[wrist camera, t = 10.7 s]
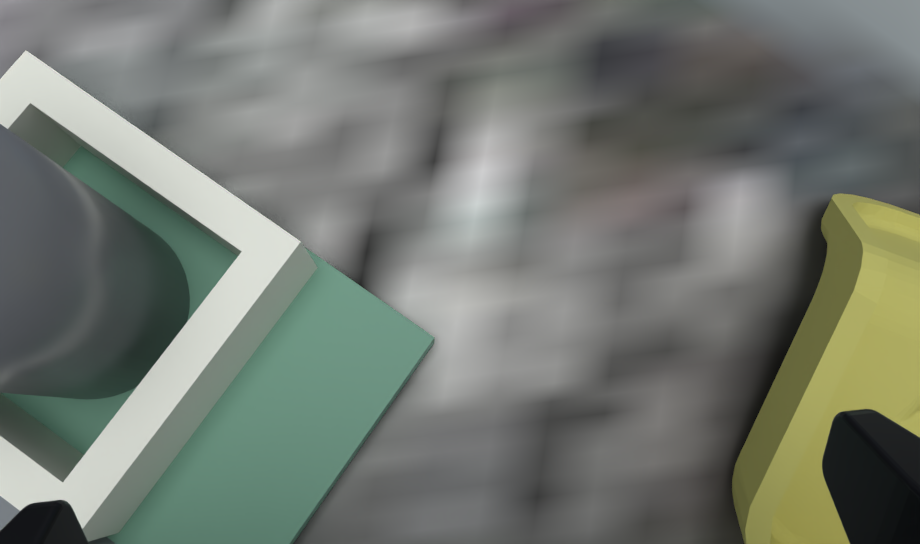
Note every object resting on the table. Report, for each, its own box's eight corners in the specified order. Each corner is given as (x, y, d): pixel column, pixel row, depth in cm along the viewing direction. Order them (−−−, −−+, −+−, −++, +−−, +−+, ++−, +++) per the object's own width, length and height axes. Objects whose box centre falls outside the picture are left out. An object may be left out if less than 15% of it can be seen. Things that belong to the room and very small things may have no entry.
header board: (67, 864, 21) (-23, 969, 17) (-344, 534, 22) (-524, 556, 18) (434, 342, 24) (435, 322, 20) (53, 77, 25) (-22, 5, 21)
